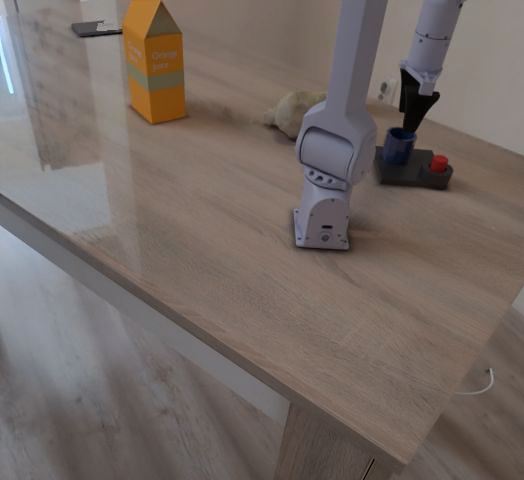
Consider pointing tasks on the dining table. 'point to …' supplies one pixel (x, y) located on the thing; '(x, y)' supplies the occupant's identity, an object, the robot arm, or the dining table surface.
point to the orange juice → (154, 61)
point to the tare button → (439, 163)
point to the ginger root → (293, 111)
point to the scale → (412, 171)
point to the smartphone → (90, 28)
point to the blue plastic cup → (398, 146)
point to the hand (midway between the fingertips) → (406, 121)
